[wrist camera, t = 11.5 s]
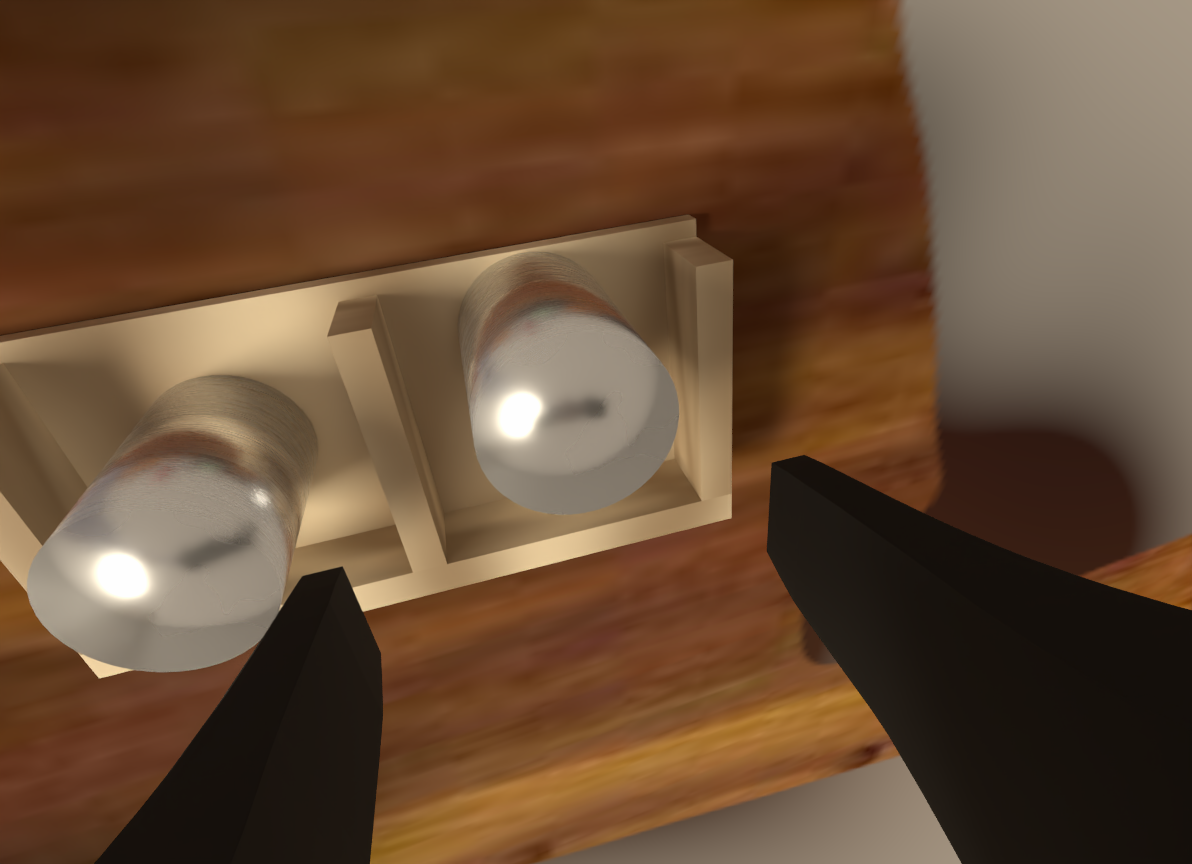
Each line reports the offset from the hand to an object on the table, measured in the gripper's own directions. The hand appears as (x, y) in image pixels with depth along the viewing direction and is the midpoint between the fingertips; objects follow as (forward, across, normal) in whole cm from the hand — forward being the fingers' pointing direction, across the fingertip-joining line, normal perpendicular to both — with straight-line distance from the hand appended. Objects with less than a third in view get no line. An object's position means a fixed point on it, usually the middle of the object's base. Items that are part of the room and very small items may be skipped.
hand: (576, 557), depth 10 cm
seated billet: (+9, +8, +1) cm, 12 cm away
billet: (+9, -1, 0) cm, 9 cm away
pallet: (+10, +4, +2) cm, 11 cm away
